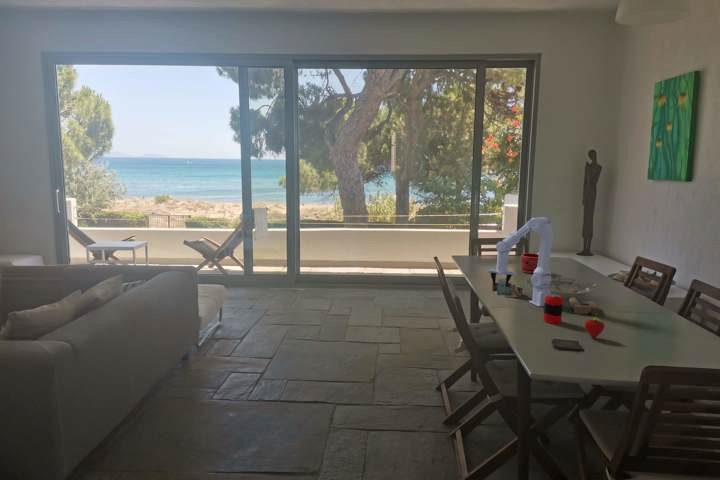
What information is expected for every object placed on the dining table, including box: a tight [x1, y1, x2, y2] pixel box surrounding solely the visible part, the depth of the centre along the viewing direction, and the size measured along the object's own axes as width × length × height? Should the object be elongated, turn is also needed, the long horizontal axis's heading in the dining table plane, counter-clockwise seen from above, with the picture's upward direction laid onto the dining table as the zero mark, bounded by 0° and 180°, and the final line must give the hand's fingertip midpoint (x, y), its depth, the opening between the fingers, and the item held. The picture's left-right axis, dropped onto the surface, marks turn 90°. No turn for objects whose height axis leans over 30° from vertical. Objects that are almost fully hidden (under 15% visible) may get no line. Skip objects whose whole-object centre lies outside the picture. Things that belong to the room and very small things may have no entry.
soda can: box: [542, 293, 564, 325], centre depth 219 cm, size 8×8×12 cm
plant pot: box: [520, 252, 539, 274], centre depth 322 cm, size 13×13×12 cm
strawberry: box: [584, 315, 605, 339], centre depth 199 cm, size 6×8×10 cm
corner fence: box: [491, 281, 523, 297], centre depth 268 cm, size 13×11×4 cm
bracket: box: [496, 277, 514, 296], centre depth 266 cm, size 9×8×5 cm
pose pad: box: [494, 291, 519, 298], centre depth 266 cm, size 10×9×1 cm
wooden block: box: [568, 296, 601, 316], centre depth 240 cm, size 4×11×18 cm
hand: (500, 287), depth 268 cm, fingers open, 6 cm apart
